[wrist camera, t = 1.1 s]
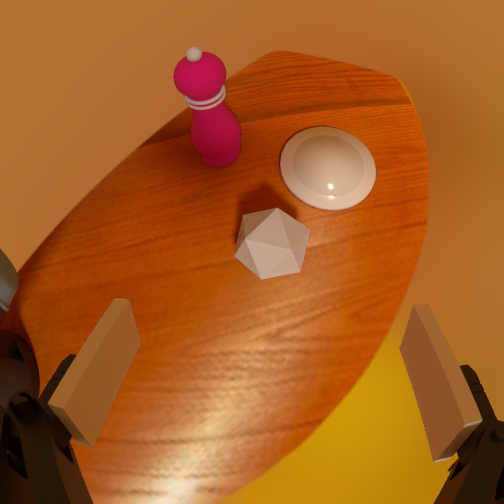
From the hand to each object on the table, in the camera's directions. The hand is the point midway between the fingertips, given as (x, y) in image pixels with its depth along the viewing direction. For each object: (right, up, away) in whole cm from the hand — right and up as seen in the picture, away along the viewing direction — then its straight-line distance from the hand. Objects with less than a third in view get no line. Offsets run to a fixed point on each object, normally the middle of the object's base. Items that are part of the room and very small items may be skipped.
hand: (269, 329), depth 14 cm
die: (+2, +3, +28) cm, 28 cm away
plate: (+10, +16, +31) cm, 36 cm away
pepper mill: (-6, +19, +34) cm, 39 cm away
